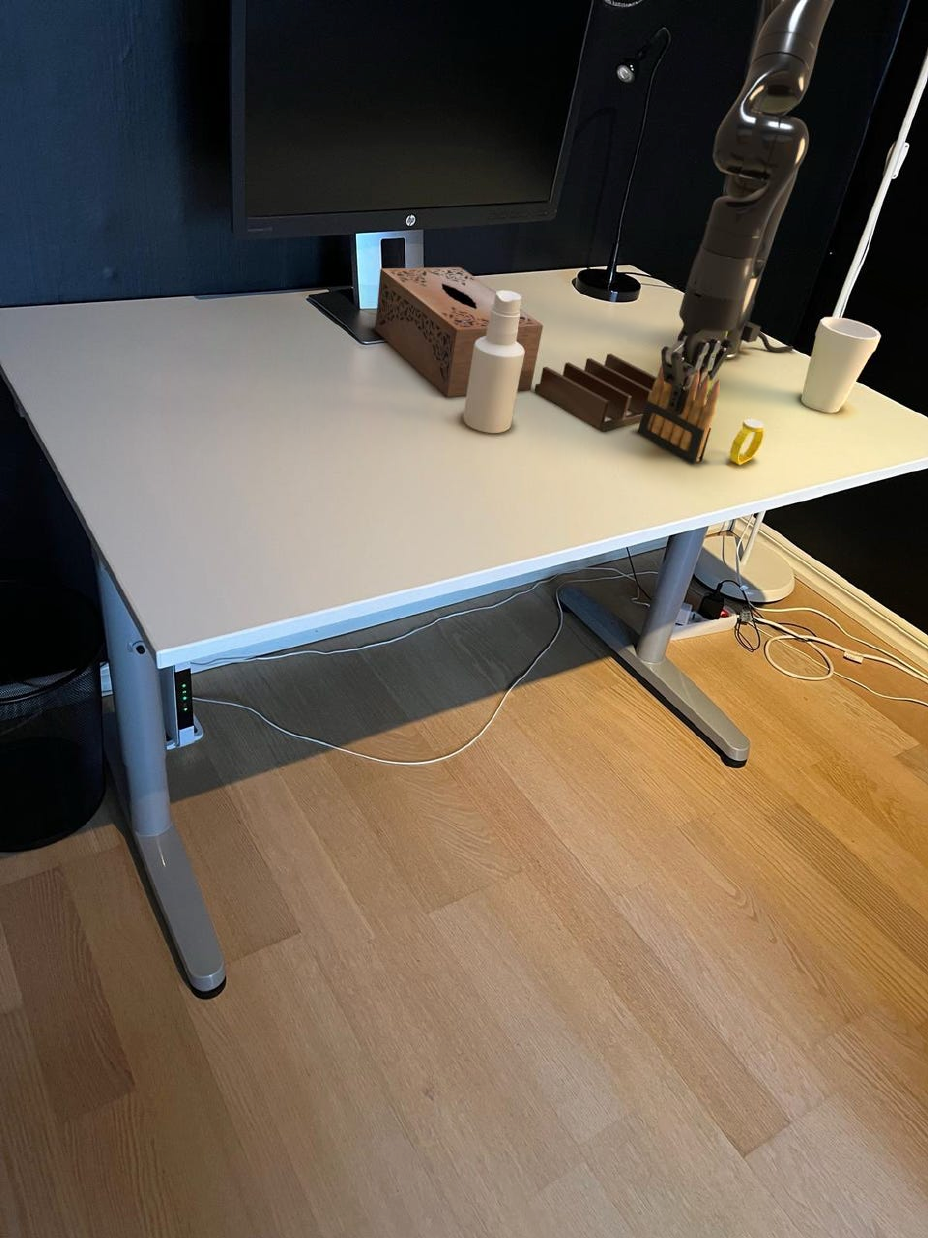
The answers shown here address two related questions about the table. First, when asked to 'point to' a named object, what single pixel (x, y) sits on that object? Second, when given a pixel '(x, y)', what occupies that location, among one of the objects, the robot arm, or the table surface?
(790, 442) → the table surface
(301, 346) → the table surface
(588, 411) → the slotted rack
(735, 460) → the watch
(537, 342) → the tissue box cover
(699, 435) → the ammunition clip
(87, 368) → the table surface
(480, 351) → the spray bottle
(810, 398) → the foam cup
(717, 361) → the robot arm
